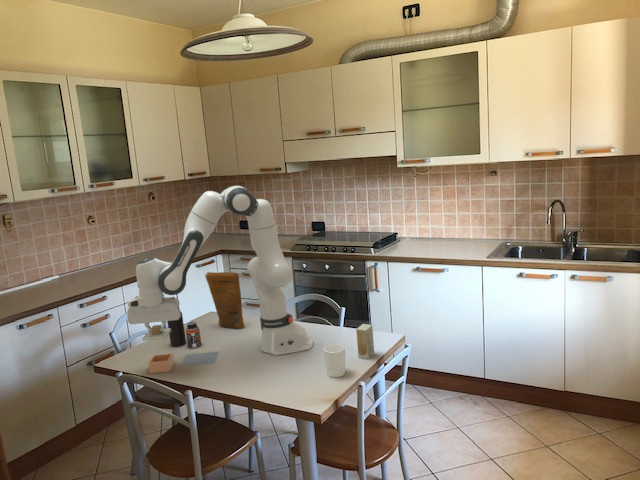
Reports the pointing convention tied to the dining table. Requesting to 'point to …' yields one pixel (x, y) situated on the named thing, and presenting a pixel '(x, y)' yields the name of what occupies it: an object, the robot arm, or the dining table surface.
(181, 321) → the vinegar
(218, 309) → the pancake mix bag
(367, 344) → the skincare box
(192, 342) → the supplement bottle
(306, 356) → the dining table surface
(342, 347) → the white cup
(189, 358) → the mat
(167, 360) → the peach storage bin
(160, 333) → the lid
